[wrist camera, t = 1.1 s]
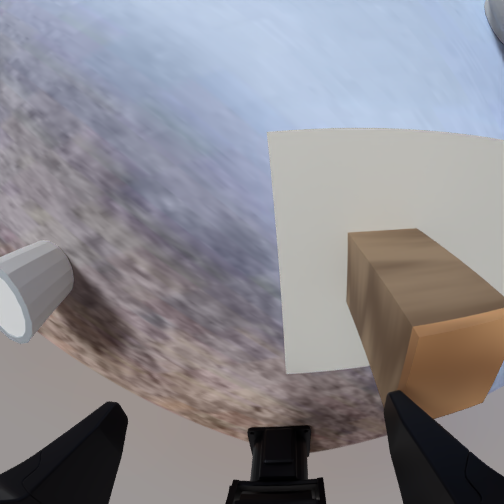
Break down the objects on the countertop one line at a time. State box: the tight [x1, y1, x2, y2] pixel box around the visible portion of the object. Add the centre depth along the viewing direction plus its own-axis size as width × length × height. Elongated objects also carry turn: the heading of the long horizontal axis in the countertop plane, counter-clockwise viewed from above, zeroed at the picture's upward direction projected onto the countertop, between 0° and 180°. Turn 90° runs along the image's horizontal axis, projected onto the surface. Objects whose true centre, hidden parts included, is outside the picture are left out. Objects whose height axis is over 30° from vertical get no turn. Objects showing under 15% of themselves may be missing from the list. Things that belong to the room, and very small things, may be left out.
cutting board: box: [267, 128, 504, 374], centre depth 19 cm, size 18×24×1 cm
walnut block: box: [346, 228, 504, 419], centre depth 14 cm, size 5×5×11 cm
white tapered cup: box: [0, 240, 74, 344], centre depth 19 cm, size 7×7×7 cm
